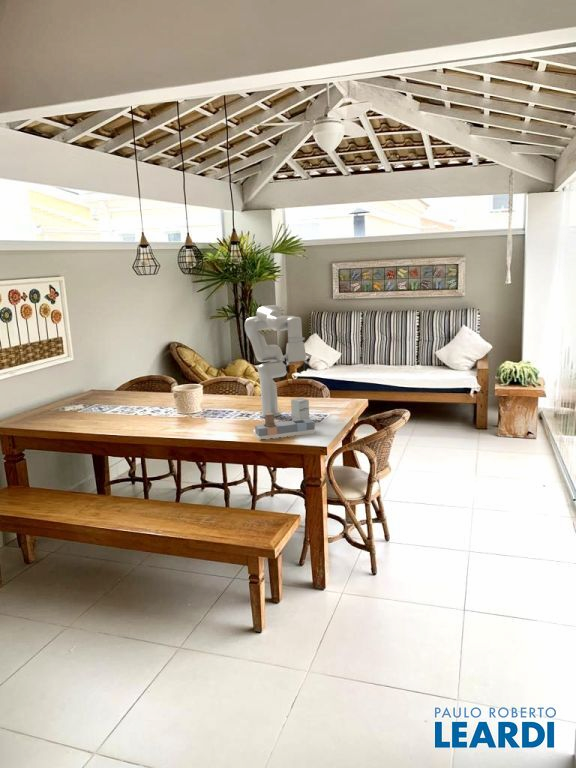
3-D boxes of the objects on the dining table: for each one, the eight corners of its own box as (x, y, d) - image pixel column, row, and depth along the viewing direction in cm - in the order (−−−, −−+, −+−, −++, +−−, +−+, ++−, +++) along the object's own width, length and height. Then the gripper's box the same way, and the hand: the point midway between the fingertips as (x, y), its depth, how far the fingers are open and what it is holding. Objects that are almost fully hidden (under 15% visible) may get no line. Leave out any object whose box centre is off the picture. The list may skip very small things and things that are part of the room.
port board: (252, 433, 318) (252, 422, 317) (306, 426, 326) (305, 416, 325) (259, 440, 304) (258, 429, 303) (315, 433, 312) (314, 422, 311)
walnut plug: (265, 432, 311) (264, 413, 309) (273, 431, 312) (272, 412, 310) (267, 434, 308) (266, 415, 306) (275, 433, 309) (274, 414, 307)
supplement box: (299, 423, 334) (298, 401, 331) (291, 421, 339) (290, 399, 337) (309, 421, 338) (308, 399, 335) (301, 418, 344) (300, 397, 341)
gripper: (308, 338, 325) (309, 369, 328) (277, 340, 320) (279, 372, 323) (312, 339, 318) (314, 371, 321) (281, 342, 313) (283, 374, 316)
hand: (296, 371), depth 322 cm, fingers open, 9 cm apart
